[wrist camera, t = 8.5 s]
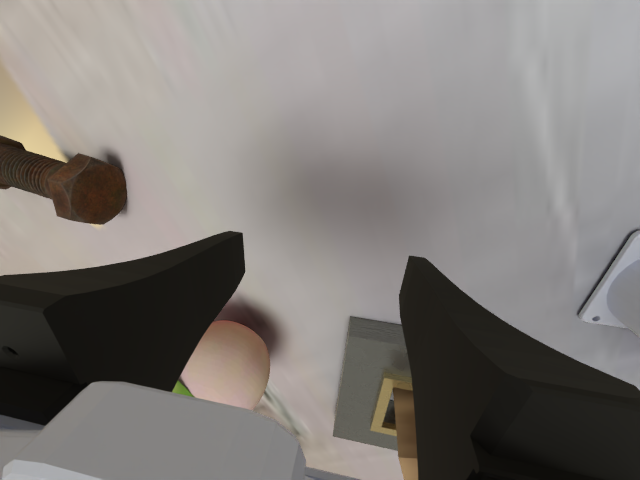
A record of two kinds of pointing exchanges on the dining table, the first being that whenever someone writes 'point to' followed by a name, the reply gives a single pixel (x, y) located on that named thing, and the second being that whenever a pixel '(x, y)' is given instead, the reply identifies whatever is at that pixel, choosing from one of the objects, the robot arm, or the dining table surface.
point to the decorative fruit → (227, 366)
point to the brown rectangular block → (406, 432)
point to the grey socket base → (371, 382)
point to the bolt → (65, 182)
